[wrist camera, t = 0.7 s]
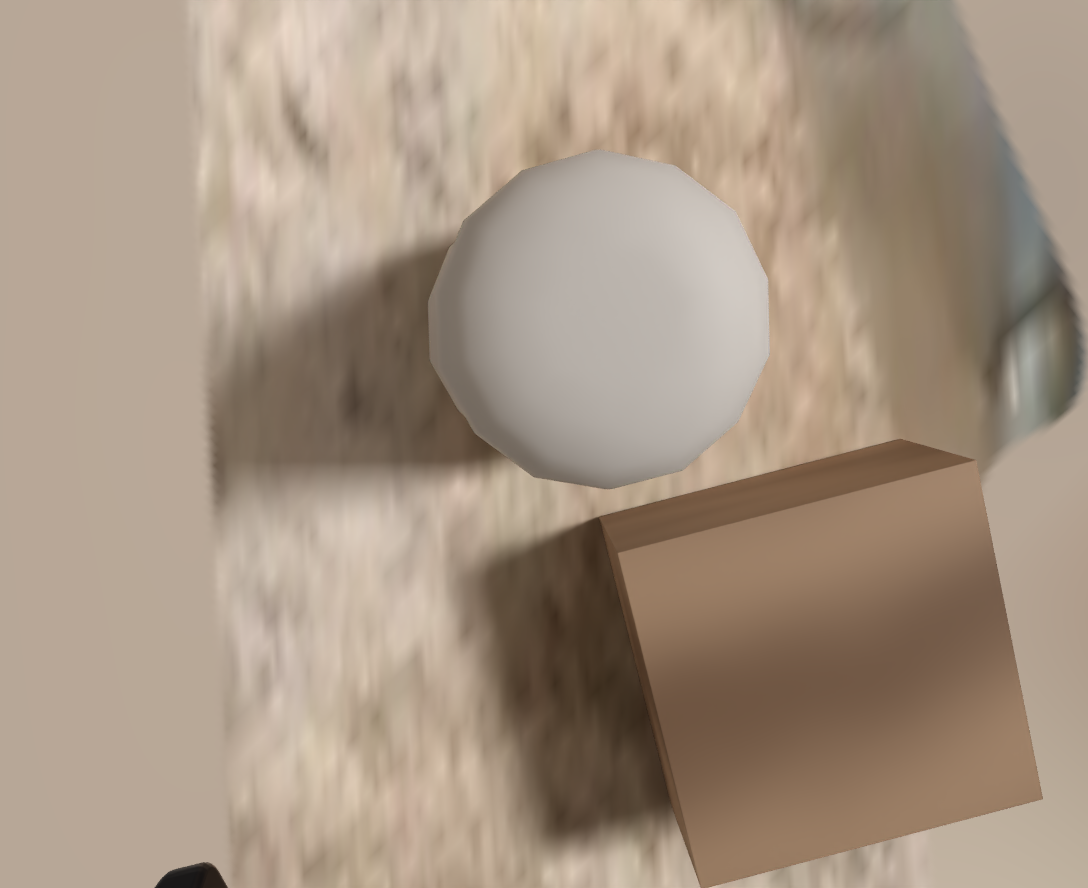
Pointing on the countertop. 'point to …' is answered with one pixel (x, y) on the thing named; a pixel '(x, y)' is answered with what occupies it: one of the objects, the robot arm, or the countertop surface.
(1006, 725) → the walnut plinth
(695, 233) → the salt shaker
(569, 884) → the countertop surface
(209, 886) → the robot arm
